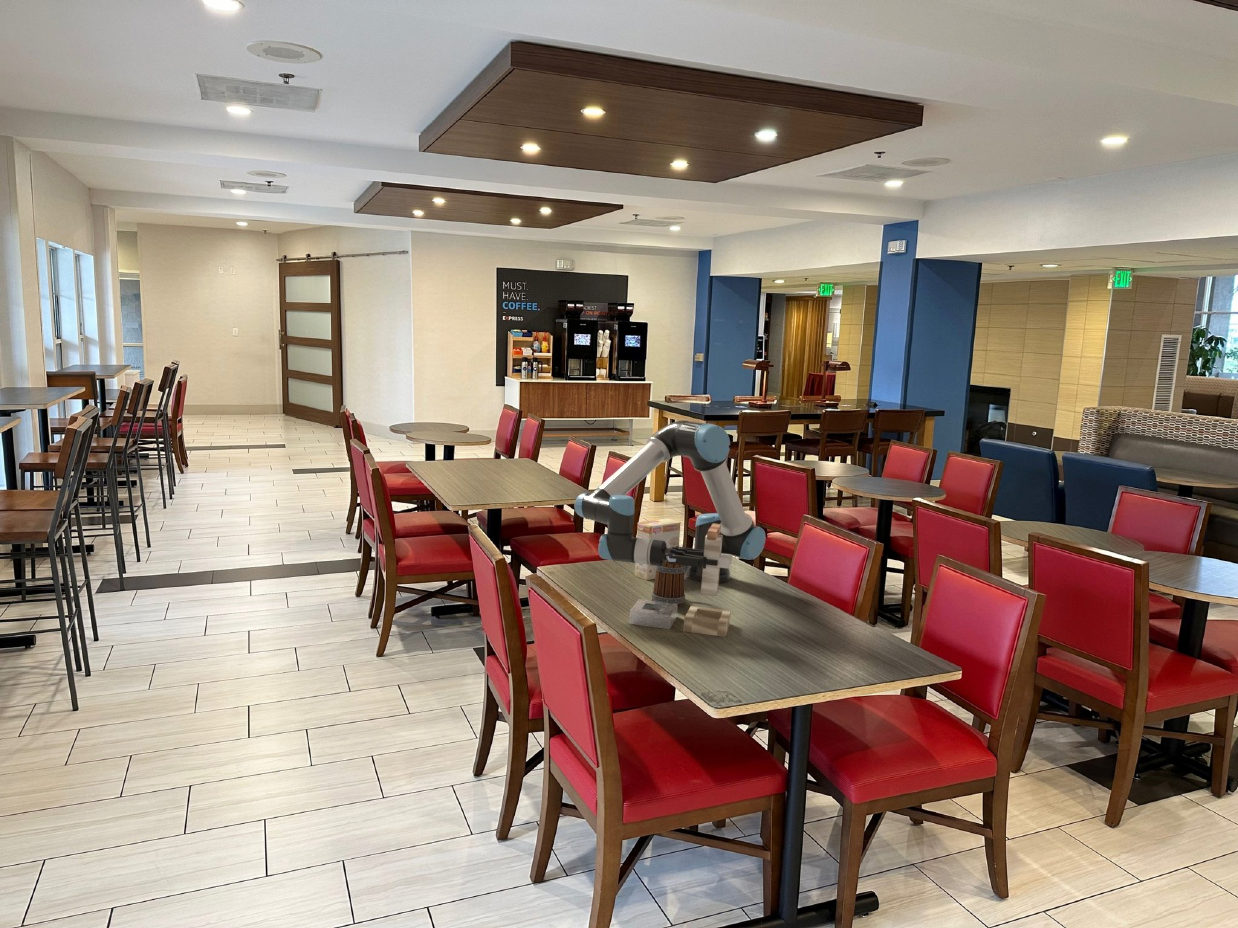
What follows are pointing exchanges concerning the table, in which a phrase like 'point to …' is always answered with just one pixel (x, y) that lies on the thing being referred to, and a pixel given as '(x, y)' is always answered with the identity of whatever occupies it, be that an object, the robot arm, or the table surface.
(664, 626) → the plate
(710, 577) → the t-key
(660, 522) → the coffeecake box
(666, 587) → the mug
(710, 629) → the block
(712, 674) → the table surface
